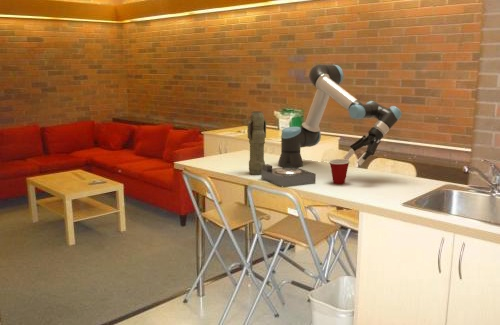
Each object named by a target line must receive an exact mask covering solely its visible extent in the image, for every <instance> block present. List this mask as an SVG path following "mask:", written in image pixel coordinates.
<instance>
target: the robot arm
mask: <svg viewBox="0 0 500 325" xmlns="http://www.w3.org/2000/svg"><path fill="white" fill-rule="evenodd" d="M308 80H309V82H310V83H311V84H312V86H313V87H315V88H316V91H315V95H314V97H313V100H312V102H311V104H310V108H309V110H308V114H307V116H306V119H305V121H303V122H302V123H301V126H289V127H288V126H287V127H284V128H283V129H282V131H281V135H280V138H281V143H280V144H281V148H280V149H281V150H280V156H279V159H278V162H277V163H278V164H277V166H279V167H280V168H283V167H296V168H300V167H303V166H304V162H303V159H302V154H301V148H306V147H307V148H308V147H309V148H310V147H314V146H317V145H318V144H319V142H320V141H321V138H322V135H321V128H320V124H321V121H322V118H323V115H324V113H325V110H326V107H327V104H328V102H329V100H330V97H331V98H332V99H333V100H334V101H335V102H336V103H337V104H339V106H340V105H341V106H342V107H343V108H344V109H345V110H347V111H348V114H349V117H350V119H353V120H362V119H363V120H364V119H376V120H377V121H376V122H375V124H374V125H373V126H372V127H371V128H370V130H368V132H367V134H368V135H367V136H366V134H363V136H362V137H361V138H359V139H358V140H356V141H355V142H354V143H352V144H351V145H350V146H349V147H350V149H349V150H348V152H347V153H346V154H345V155H344V156H343V159H347V160H350V159H351V157H352V156H353V155H354V154H355V153H356V151H357V150H359V149H361V148H362V147H366V146H367V148H366V151H365V152H364V153H363V154H362V155H361V156H360V157H359V158H358V159H357V161H356V163H357V165H359V166H362V165H363V163H364V162H365V161H366V160H367V158H369V157H370V156H372V157H373V156H374V154H375V152H376V151H377V148H378V146H379V144H381V140H382V139H383V138H384V136H385V135H387V133H388V132H389V131H390V129H392V127H393V126H395V124H396V123H397V122H398V121H399V120H400V118H402V115H403V113H402V111H401V109H400V108H398V106H395V105H390V107H389V108H388V107H386V106H383V105H382V104H380V103H378V102H377V101H373V100H369V101H368V102H366V103H362V102H361V101H359V100H358V99H357V98H356V97H355V96H353V94H351V93H350V92H348V91H347V90H346V89H344V88H343V87H342V86H341V85H340V84H341V83H342V82H343V81H344V72H343V69H342V67H340V66H339V65H337V64H332V63H331V64H315V65H314V66H312V67H311V69H310V70H309V73H308Z"/></svg>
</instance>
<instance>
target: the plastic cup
mask: <svg viewBox="0 0 500 325" xmlns="http://www.w3.org/2000/svg"><path fill="white" fill-rule="evenodd" d="M350 161H351V160H350V159H348V160H347V159H344V158H335V159H331V160H329V161H328V164H329V165H330V171H331V177H332V182H333V184H334V185H344V184H345V182H346V178H347V175H348V174H347V173H348V168H349V165H350V163H351V162H350Z"/></svg>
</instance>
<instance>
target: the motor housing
mask: <svg viewBox="0 0 500 325" xmlns="http://www.w3.org/2000/svg"><path fill="white" fill-rule="evenodd" d="M316 175H317V174H316V173H314V172H311V171H308V170H305V169H302V168H300V167H276V168H273V165H272V164H268V163H265V164H264V165H263V169H262V170H261V175H260V177H261V180H264V181H266V182H268V183H271V184H273V185H276V186H278V187H281V186H283V187H282V188H288V187H297V186H303V185H312V184H316V177H317V176H316Z"/></svg>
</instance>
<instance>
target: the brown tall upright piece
mask: <svg viewBox="0 0 500 325" xmlns="http://www.w3.org/2000/svg"><path fill="white" fill-rule="evenodd" d="M249 119H250V120H248V122H247V139H248V143H249V161H248V171H249V172H248V174H249V175H252V176H261V170H262V169H263V165H264V164H266V163H265V162H266V161H265V143H266V141H265V140H266V138H267V121H266V120H265V116H264V112H262V111H258V110H257V111H256V110H255V111H253V112H251V114H250V118H249Z"/></svg>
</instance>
